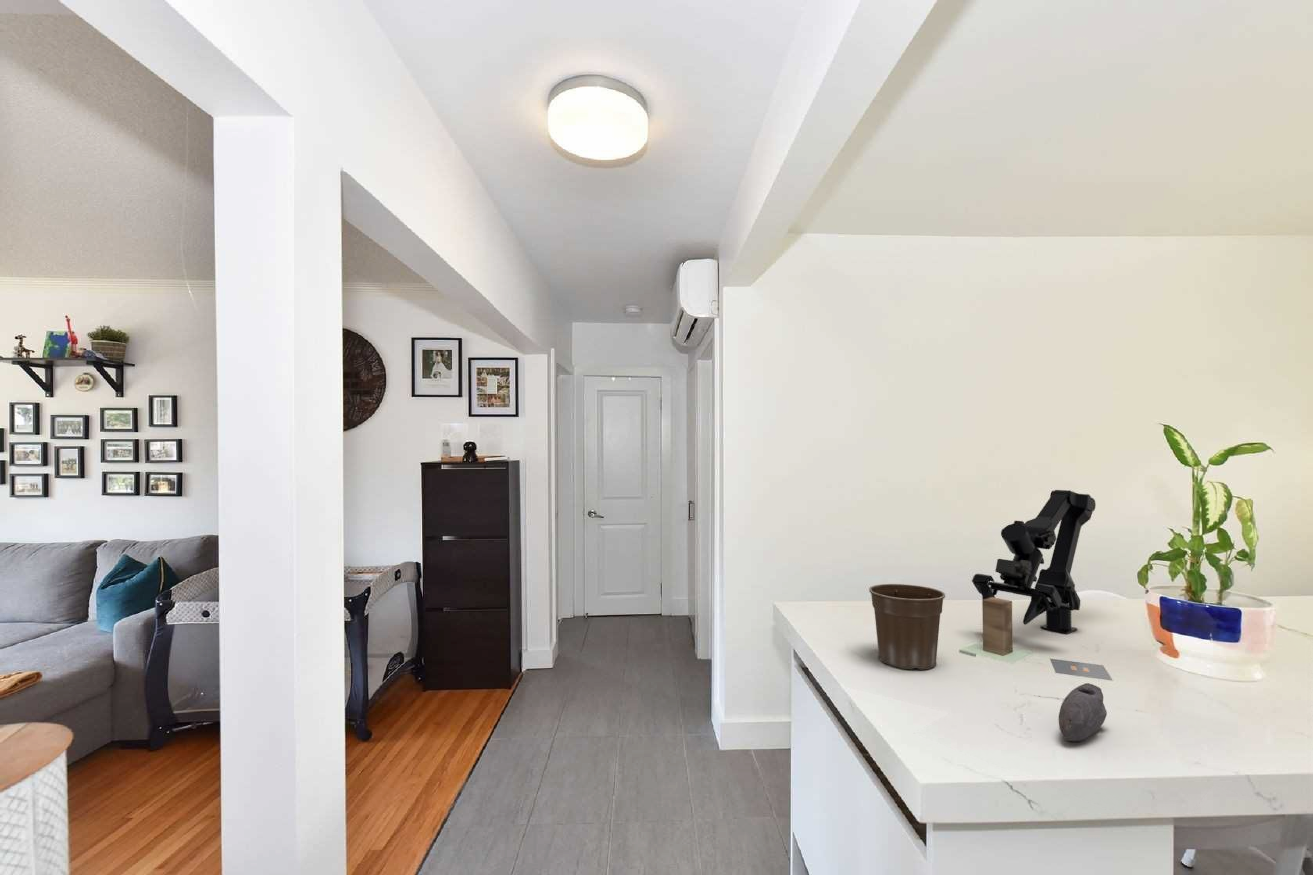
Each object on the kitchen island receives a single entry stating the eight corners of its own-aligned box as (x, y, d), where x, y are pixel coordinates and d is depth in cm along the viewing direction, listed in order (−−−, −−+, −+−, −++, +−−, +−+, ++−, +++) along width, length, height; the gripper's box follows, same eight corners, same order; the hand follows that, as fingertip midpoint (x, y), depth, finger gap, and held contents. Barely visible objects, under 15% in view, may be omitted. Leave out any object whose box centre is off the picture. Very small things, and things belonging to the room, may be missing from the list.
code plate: (1049, 660, 140) (1049, 658, 140) (1103, 667, 135) (1103, 664, 135) (1055, 675, 131) (1055, 672, 131) (1113, 683, 126) (1113, 680, 126)
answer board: (984, 642, 153) (984, 640, 153) (1036, 655, 143) (1036, 653, 143) (959, 652, 146) (959, 649, 146) (1012, 666, 136) (1012, 663, 136)
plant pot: (883, 645, 151) (883, 579, 152) (954, 659, 141) (953, 589, 142) (859, 663, 139) (858, 592, 139) (934, 680, 129) (933, 603, 129)
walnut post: (992, 646, 148) (992, 597, 148) (1012, 652, 144) (1012, 600, 144) (983, 650, 145) (982, 599, 145) (1003, 655, 141) (1002, 603, 142)
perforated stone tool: (1082, 753, 98) (1081, 709, 98) (1045, 741, 102) (1044, 699, 102) (1113, 726, 107) (1112, 686, 107) (1078, 716, 111) (1077, 678, 111)
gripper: (974, 541, 158) (952, 591, 151) (1055, 551, 142) (1034, 607, 136) (990, 568, 162) (969, 617, 156) (1070, 580, 147) (1051, 635, 140)
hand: (1003, 618), depth 147 cm, fingers open, 9 cm apart
